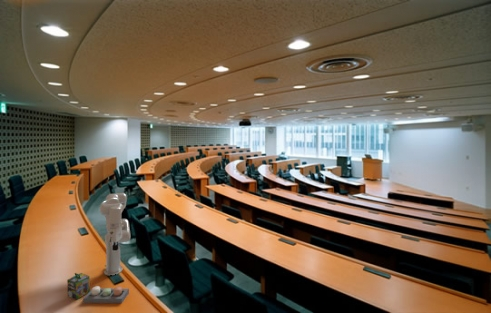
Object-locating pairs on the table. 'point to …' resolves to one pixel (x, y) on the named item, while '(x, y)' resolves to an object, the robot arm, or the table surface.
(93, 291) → the white rounded piece
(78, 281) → the chalk box
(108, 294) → the pale green rounded piece
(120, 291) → the pink rounded dome
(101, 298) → the button board
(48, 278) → the table surface
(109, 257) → the robot arm
